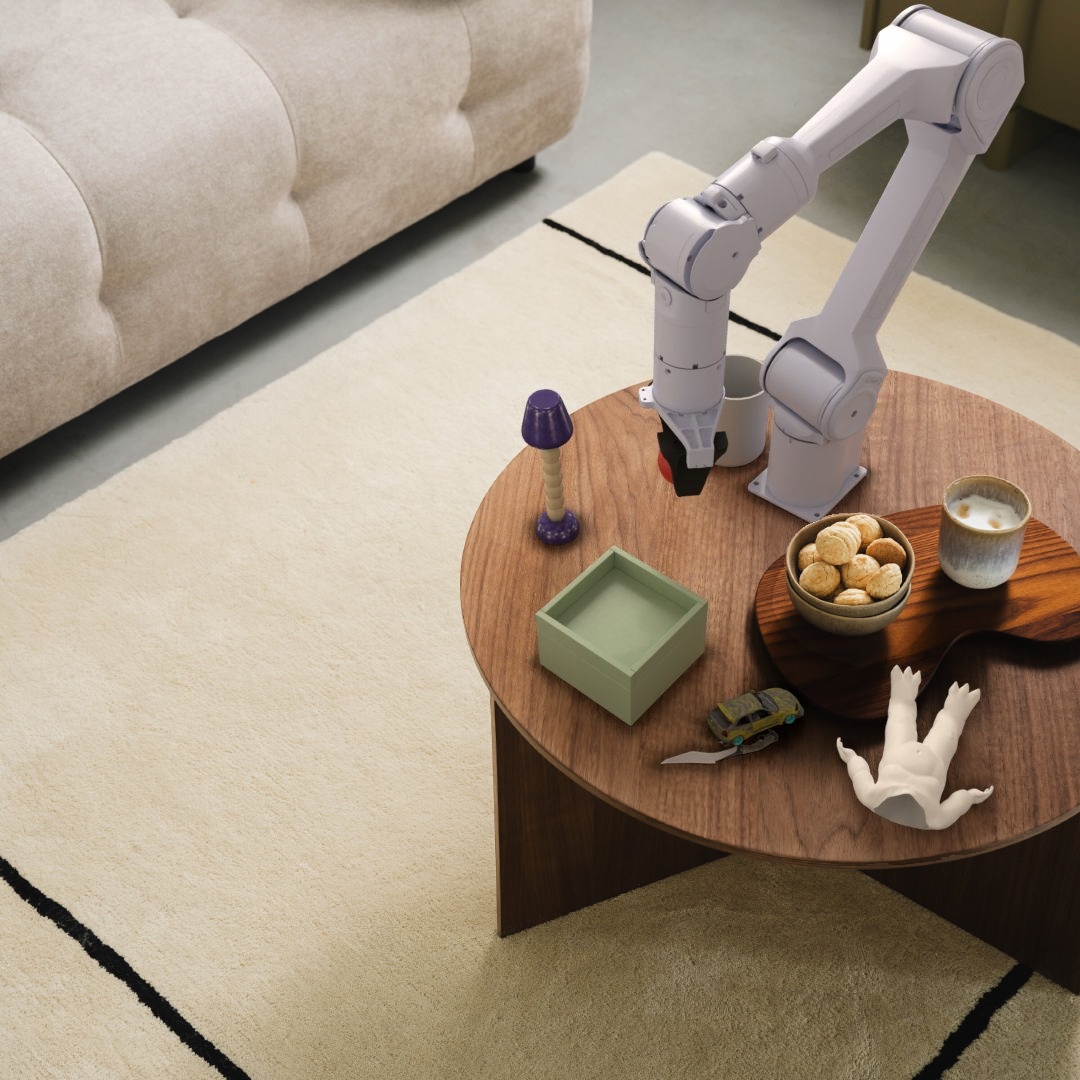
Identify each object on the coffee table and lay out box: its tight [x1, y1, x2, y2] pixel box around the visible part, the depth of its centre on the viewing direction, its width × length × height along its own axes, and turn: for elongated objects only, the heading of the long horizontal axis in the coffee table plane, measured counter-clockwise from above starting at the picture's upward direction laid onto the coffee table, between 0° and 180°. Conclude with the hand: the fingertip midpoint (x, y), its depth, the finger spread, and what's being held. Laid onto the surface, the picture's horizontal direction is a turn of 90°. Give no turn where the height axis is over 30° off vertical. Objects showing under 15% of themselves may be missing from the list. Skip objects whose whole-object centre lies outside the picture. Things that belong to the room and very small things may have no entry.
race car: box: [705, 687, 805, 748], centre depth 94 cm, size 4×8×2 cm, turn 113°
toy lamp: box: [520, 388, 581, 546], centre depth 105 cm, size 5×5×17 cm
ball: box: [657, 450, 673, 485], centre depth 99 cm, size 5×5×5 cm
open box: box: [534, 544, 709, 727], centre depth 98 cm, size 10×10×7 cm
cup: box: [714, 353, 772, 468], centre depth 116 cm, size 7×10×9 cm
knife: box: [660, 728, 779, 765], centre depth 93 cm, size 10×2×1 cm, turn 107°
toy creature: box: [836, 664, 995, 831], centre depth 89 cm, size 12×6×12 cm
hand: (683, 473), depth 101 cm, fingers closed on ball, 4 cm apart
